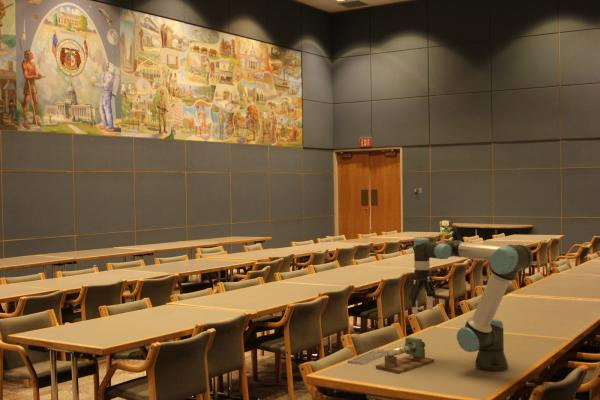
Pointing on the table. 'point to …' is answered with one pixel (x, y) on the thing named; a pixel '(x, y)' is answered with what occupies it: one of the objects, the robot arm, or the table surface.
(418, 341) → the collar
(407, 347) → the steel pipe
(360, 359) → the keyboard
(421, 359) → the pipe stand
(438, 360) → the table surface
